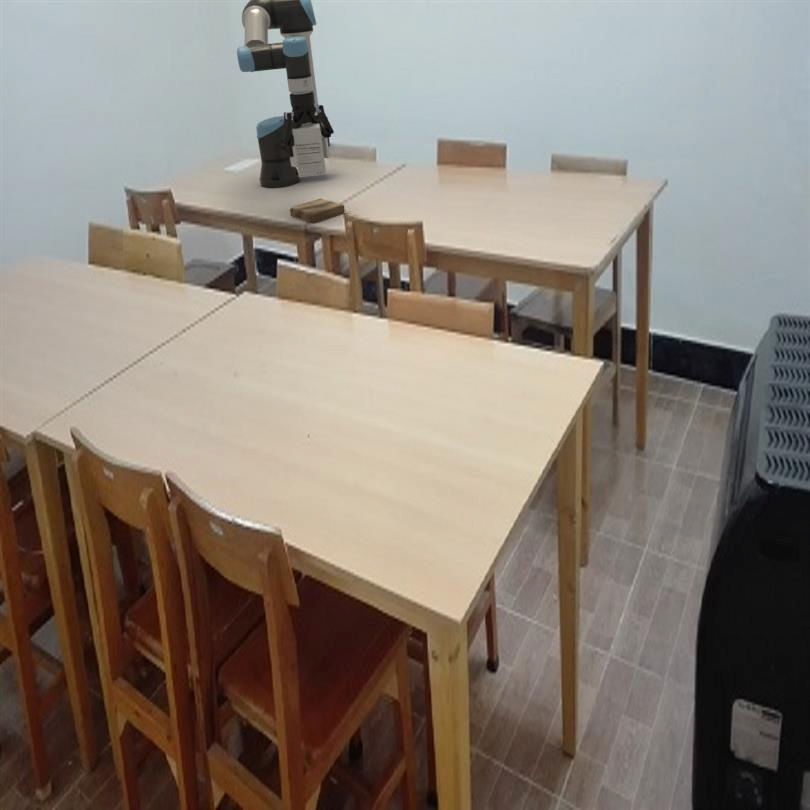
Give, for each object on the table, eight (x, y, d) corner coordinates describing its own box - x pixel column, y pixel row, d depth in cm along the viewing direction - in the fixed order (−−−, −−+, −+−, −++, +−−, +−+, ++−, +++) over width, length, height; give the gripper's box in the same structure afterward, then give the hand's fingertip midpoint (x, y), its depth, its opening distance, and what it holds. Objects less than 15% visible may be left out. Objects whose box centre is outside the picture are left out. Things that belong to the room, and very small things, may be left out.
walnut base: (290, 216, 273) (289, 207, 272) (321, 206, 280) (320, 197, 279) (313, 223, 264) (312, 214, 263) (345, 213, 272) (343, 204, 270)
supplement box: (298, 170, 269) (292, 123, 261) (325, 167, 269) (319, 121, 262) (298, 177, 261) (291, 129, 254) (326, 174, 261) (319, 126, 254)
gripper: (275, 99, 243) (286, 172, 254) (339, 85, 257) (347, 155, 268) (261, 97, 249) (273, 169, 259) (325, 84, 262) (333, 152, 273)
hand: (310, 162), depth 263 cm, fingers closed on supplement box, 12 cm apart
